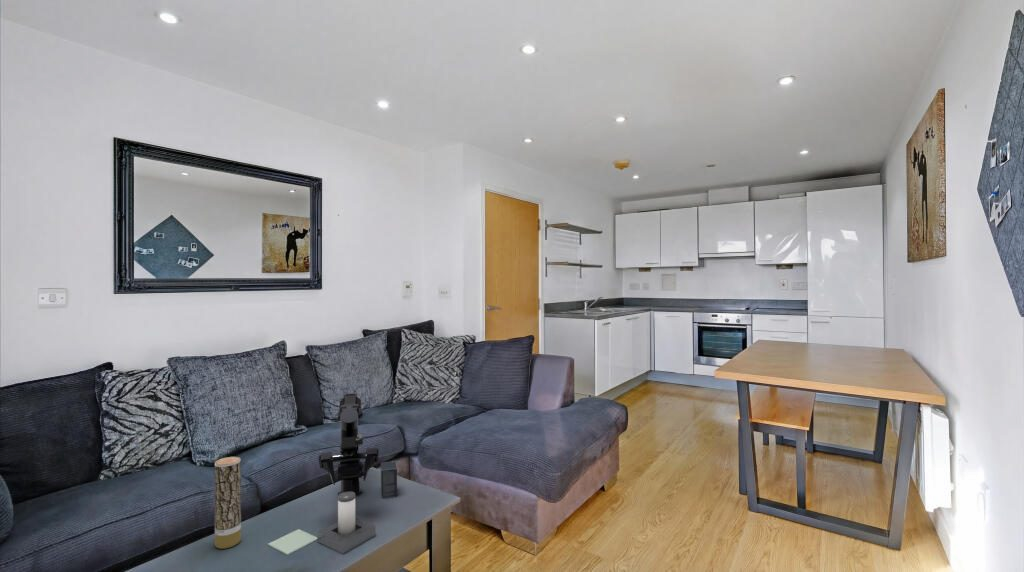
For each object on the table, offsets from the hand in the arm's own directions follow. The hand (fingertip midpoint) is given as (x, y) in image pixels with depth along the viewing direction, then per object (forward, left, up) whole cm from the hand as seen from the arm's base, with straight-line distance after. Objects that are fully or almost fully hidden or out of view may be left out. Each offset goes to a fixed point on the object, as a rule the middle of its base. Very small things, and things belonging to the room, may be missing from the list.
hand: (349, 482), depth 152 cm
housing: (+6, -6, -14) cm, 16 cm away
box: (-7, +23, -14) cm, 28 cm away
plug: (+6, -6, -14) cm, 16 cm away
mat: (-6, -16, -14) cm, 22 cm away
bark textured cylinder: (-22, -27, -14) cm, 37 cm away
